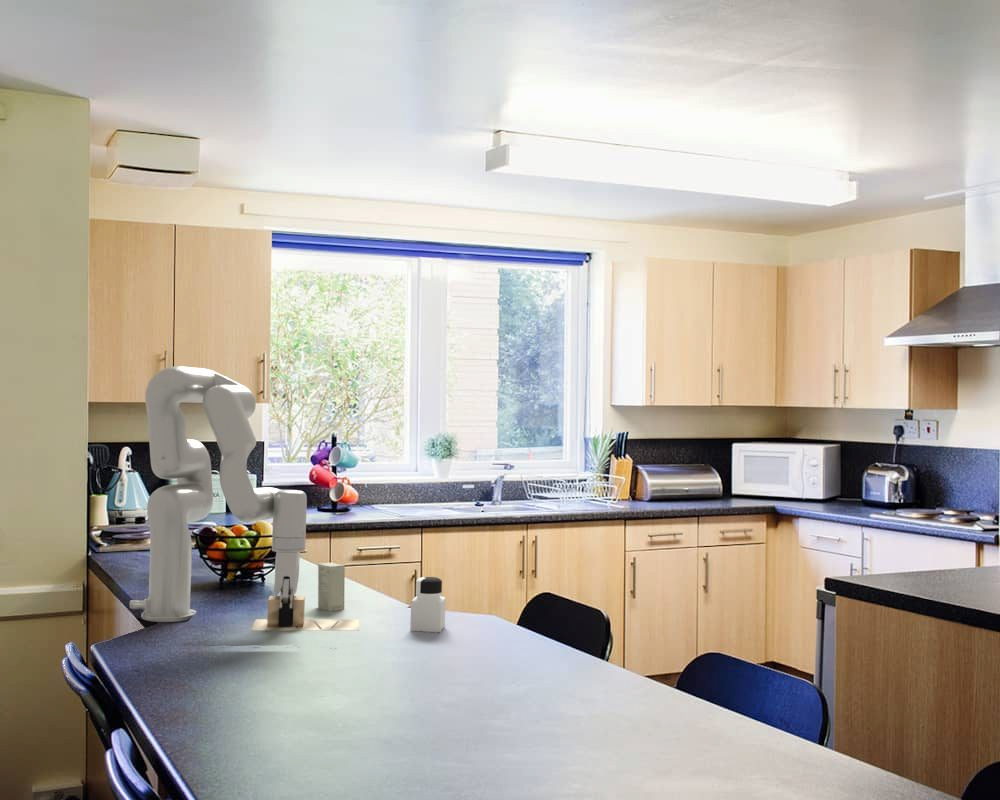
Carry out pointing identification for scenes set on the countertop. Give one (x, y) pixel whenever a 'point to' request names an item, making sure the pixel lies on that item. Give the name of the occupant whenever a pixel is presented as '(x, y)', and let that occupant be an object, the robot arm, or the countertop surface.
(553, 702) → the countertop surface
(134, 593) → the countertop surface
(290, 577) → the robot arm
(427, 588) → the medicine bottle
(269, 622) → the block
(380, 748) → the countertop surface
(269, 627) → the board
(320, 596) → the skincare box
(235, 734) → the countertop surface
